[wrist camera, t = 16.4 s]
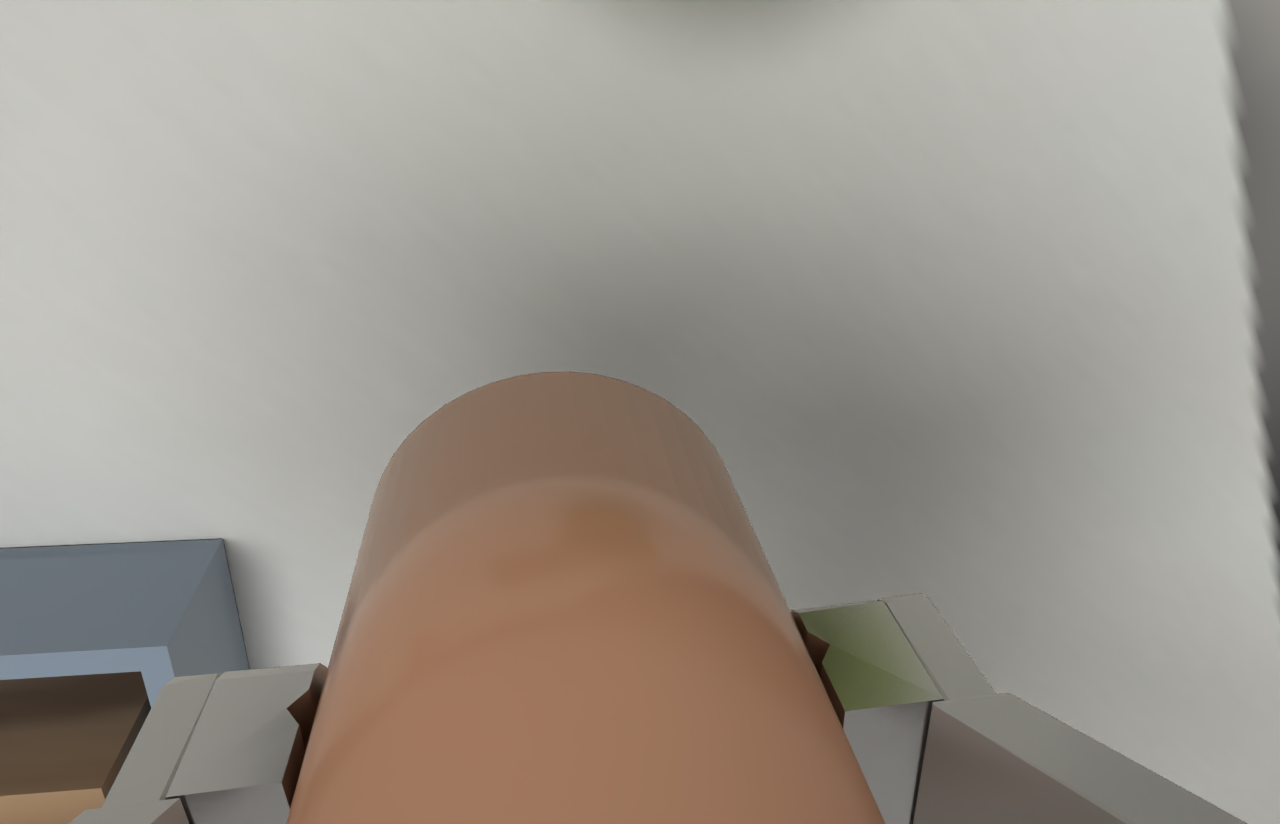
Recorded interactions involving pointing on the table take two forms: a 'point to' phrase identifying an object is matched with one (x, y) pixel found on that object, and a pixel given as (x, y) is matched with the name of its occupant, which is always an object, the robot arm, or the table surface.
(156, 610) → the tote
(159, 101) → the table surface
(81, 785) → the walnut cube
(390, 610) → the terracotta cylinder
